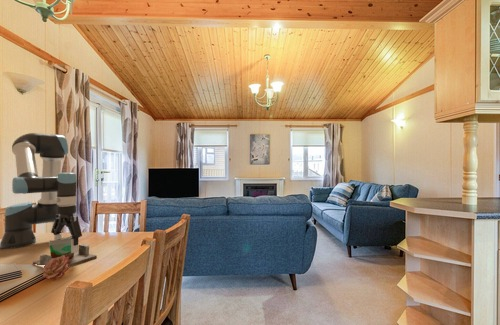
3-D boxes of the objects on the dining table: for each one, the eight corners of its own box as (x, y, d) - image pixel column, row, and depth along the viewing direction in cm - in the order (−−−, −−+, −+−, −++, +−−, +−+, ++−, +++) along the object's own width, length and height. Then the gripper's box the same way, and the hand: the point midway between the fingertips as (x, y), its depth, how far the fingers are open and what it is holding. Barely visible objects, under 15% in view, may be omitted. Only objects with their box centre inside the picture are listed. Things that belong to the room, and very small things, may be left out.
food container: (58, 264, 111) (59, 241, 111) (47, 262, 113) (48, 240, 113) (83, 254, 123) (83, 234, 123) (73, 253, 125) (73, 233, 125)
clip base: (32, 264, 114) (32, 253, 114) (74, 252, 130) (74, 242, 130) (55, 271, 106) (55, 259, 106) (96, 257, 122) (96, 247, 122)
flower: (57, 267, 107) (46, 255, 102) (79, 262, 108) (69, 250, 103) (46, 288, 99) (34, 277, 94) (70, 283, 100) (59, 271, 95)
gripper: (43, 204, 120) (42, 248, 120) (74, 208, 110) (73, 256, 109) (60, 202, 127) (59, 244, 127) (91, 205, 117) (90, 251, 116)
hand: (65, 250), depth 118 cm, fingers open, 13 cm apart
